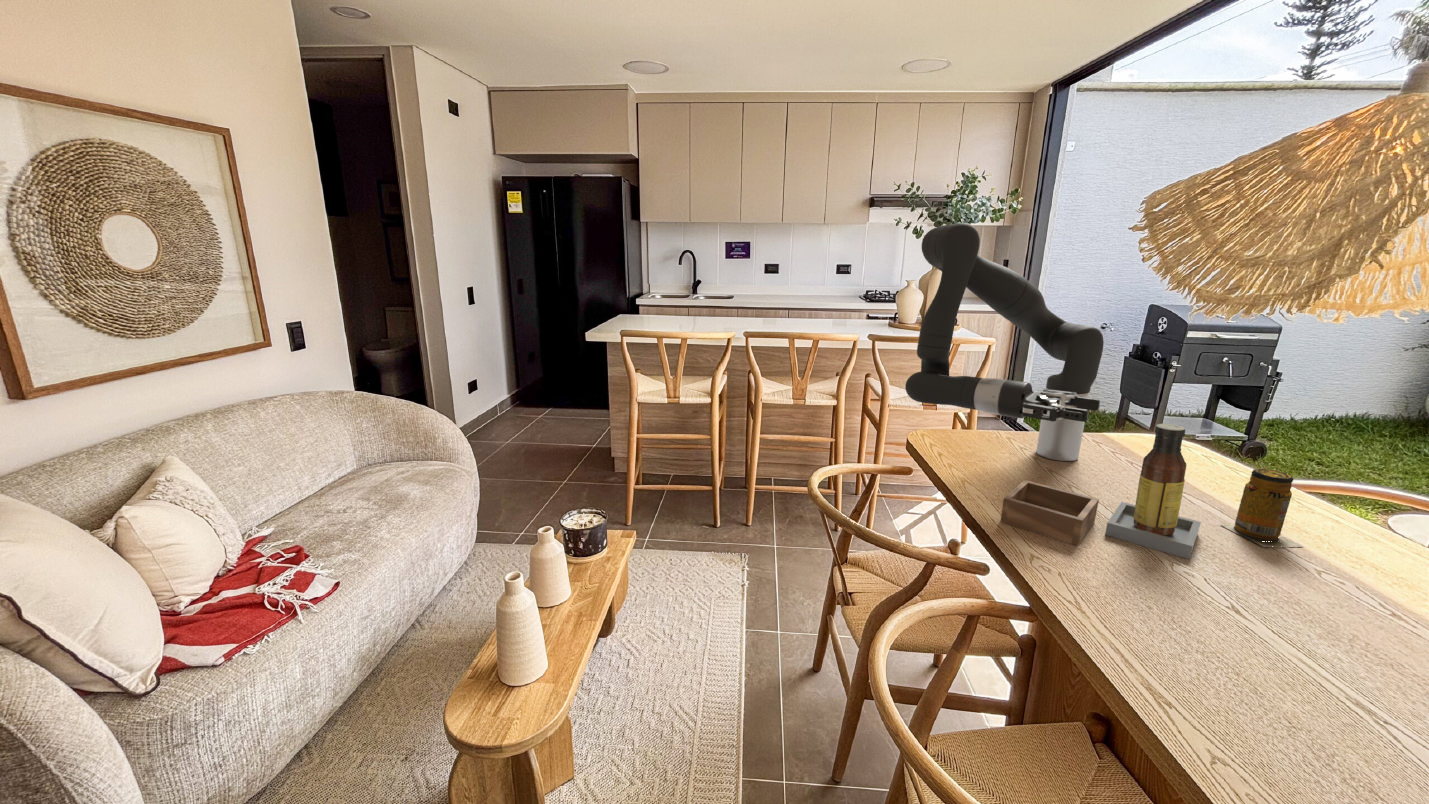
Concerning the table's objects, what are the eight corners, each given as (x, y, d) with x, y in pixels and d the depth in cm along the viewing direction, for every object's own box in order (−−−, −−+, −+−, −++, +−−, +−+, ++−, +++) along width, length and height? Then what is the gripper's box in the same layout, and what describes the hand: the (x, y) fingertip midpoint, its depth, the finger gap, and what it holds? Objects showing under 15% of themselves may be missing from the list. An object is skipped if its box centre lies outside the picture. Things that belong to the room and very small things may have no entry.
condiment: (1256, 524, 104) (1272, 465, 101) (1303, 547, 96) (1323, 484, 93) (1218, 525, 104) (1234, 466, 101) (1263, 548, 96) (1281, 485, 93)
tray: (1119, 513, 109) (1121, 501, 109) (1197, 534, 101) (1200, 521, 100) (1105, 534, 101) (1107, 522, 101) (1189, 559, 93) (1192, 546, 92)
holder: (1021, 501, 115) (1024, 479, 113) (1094, 522, 106) (1098, 499, 104) (1000, 521, 107) (1003, 498, 105) (1077, 546, 98) (1082, 520, 96)
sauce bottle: (1172, 526, 102) (1196, 425, 96) (1176, 541, 97) (1201, 434, 91) (1129, 517, 105) (1149, 419, 100) (1130, 531, 100) (1151, 428, 95)
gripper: (991, 387, 109) (1086, 400, 98) (1016, 373, 119) (1105, 383, 108) (988, 422, 111) (1081, 439, 100) (1012, 406, 121) (1100, 419, 110)
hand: (1093, 410), depth 104 cm, fingers open, 8 cm apart
